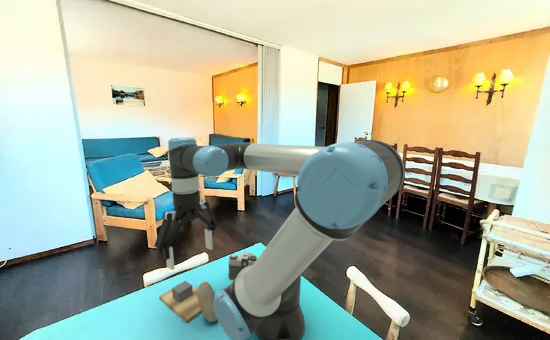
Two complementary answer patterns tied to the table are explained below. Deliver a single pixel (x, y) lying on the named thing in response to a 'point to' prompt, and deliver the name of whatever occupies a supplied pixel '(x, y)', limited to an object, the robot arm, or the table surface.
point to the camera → (240, 263)
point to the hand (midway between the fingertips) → (191, 257)
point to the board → (183, 305)
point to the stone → (206, 301)
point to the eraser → (182, 291)
